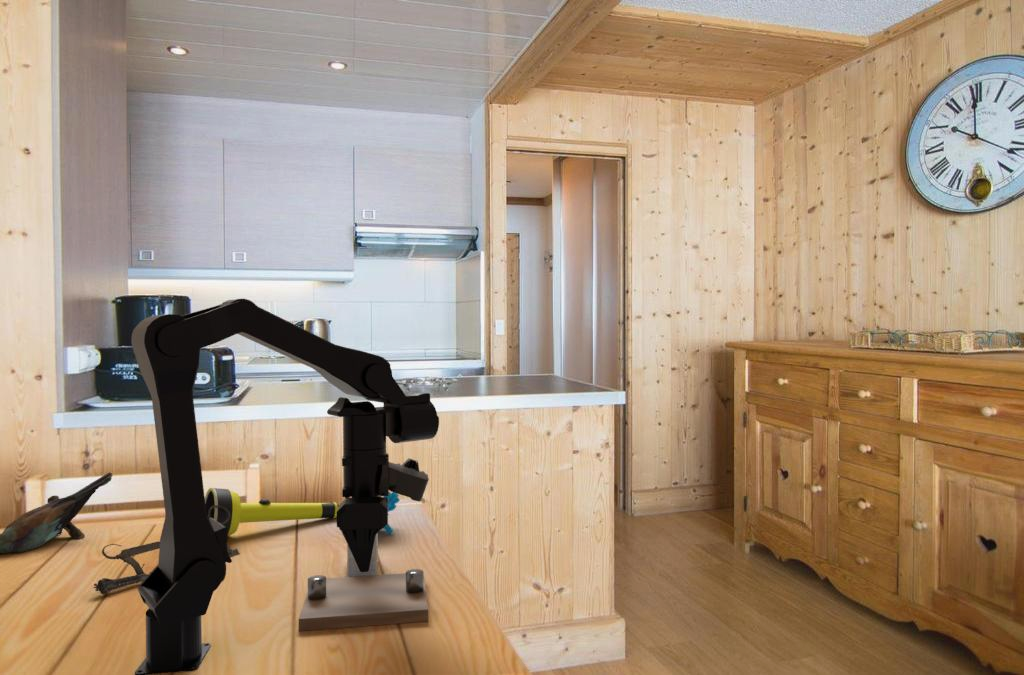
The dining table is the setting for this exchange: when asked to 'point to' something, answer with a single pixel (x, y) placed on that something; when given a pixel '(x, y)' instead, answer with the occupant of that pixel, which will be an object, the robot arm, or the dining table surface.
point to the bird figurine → (48, 520)
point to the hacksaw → (126, 554)
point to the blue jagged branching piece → (391, 508)
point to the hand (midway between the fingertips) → (365, 561)
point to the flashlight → (261, 509)
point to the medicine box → (352, 565)
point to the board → (364, 601)
